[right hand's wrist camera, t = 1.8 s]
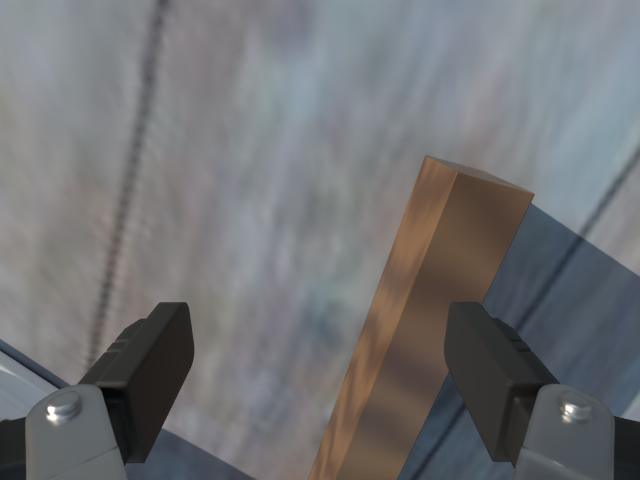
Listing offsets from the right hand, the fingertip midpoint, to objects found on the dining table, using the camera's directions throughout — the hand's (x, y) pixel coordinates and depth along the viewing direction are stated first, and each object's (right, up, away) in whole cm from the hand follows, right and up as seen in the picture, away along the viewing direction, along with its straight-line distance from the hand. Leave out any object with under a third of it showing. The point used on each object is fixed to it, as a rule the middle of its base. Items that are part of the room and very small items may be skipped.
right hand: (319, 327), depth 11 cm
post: (0, -24, +27) cm, 36 cm away
